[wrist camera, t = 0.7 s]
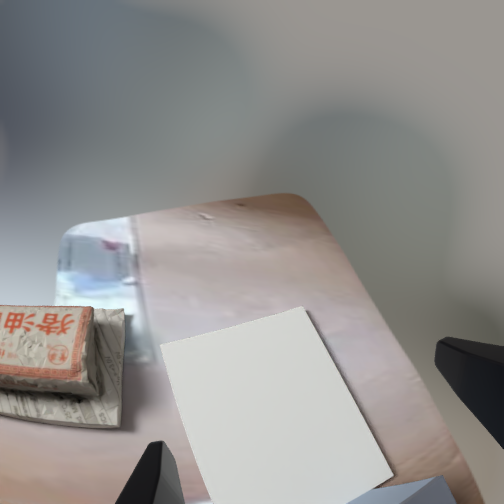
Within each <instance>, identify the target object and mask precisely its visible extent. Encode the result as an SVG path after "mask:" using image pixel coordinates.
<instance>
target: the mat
mask: <svg viewBox="0 0 504 504" xmlns="http://www.w3.org/2000/svg"><path fill="white" fill-rule="evenodd" d="M160 348H161V352H162V355H163V359H164V363H165V366H166V370H167V373H168V377H169V380H170V384H171V387H172V390H173V394H174V397H175V400H176V403H177V407H178V410H179V413H180V416H181V419H182V422H183V425H184V428H185V431H186V434H187V437H188V440H189V443H190V445H191V448H192V451H193V454H194V457H195V459H196V462H197V465H198V467H199V470H200V472H201V475H202V478H203V480H204V483H205V485H206V488H207V490H208V493H209V495H210V497H211V500H212V502H213V504H346V503H348V502H350V501H352V500H354V499H355V498H357V497H359V496H361V495H362V494H364V493H366V492H368V491H369V490H371V489H373V488H374V487H376V486H378V485H379V484H381V483H383V482H384V481H386V480H387V479H389V478H391V477H392V476H394V475H393V473H392V471H391V469H390V467H389V466H388V464H387V462H386V460H385V458H384V456H383V454H382V452H381V450H380V448H379V446H378V445H377V443H376V441H375V439H374V437H373V435H372V433H371V431H370V429H369V427H368V426H367V424H366V422H365V420H364V418H363V416H362V414H361V412H360V411H359V409H358V407H357V405H356V403H355V401H354V399H353V397H352V396H351V394H350V392H349V390H348V388H347V386H346V384H345V383H344V381H343V379H342V377H341V375H340V373H339V372H338V370H337V368H336V366H335V364H334V362H333V360H332V359H331V357H330V355H329V353H328V351H327V349H326V348H325V346H324V344H323V342H322V340H321V339H320V337H319V335H318V333H317V331H316V329H315V328H314V326H313V324H312V322H311V320H310V319H309V317H308V315H307V313H306V311H305V309H304V308H303V306H301V307H298V308H294V309H291V310H288V311H284V312H281V313H278V314H274V315H271V316H267V317H264V318H260V319H257V320H253V321H250V322H246V323H243V324H239V325H235V326H232V327H228V328H224V329H220V330H217V331H213V332H209V333H205V334H201V335H197V336H193V337H189V338H185V339H181V340H177V341H173V342H169V343H165V344H160Z"/></svg>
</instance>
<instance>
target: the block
mask: <svg viewBox="0 0 504 504" xmlns="http://www.w3.org/2000/svg"><path fill="white" fill-rule="evenodd" d="M346 504H457V503H456V501H455V499H454V497H453V495H452V493H451V491H450V489H449V487H448V485H447V483H446V481H445V479H444V477H443V475H441V476H437V477H433V478H429V479H425V480H420V481H416V482H411V483H406V484H401V485H395V486H390V487H384V488H377V489H371V490H369V491H368V492H366V493H364V494H362V495H361V496H359V497H357V498H355V499H354V500H352V501H350V502H348V503H346Z"/></svg>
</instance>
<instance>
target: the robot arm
mask: <svg viewBox="0 0 504 504" xmlns="http://www.w3.org/2000/svg"><path fill="white" fill-rule="evenodd" d="M434 361H435V365H436V367H437V369H438V370H439V371H440V373H441V374H442V375H443V377H444V378H445V379H446V381H447V382H448V383H449V385H450V386H451V388H452V389H453V391H454V392H455V393H456V395H457V396H458V397H459V398H460V400H461V401H462V402H463V403H464V404H465V405H466V406H467V408H468V409H469V410H470V411H471V412H472V413H473V414H474V415H475V417H476V418H477V419H478V420H479V421H480V422H481V423H482V425H483V426H484V427H485V428H486V429H487V430H488V432H489V433H490V434H491V435H492V436H493V437H494V438H495V440H496V441H497V442H498V443H499V444H500V446H501V447H502V448H503V449H504V346H499V345H493V344H486V343H480V342H475V341H469V340H464V339H458V338H453V337H445V338H443V339H441V340H439V341H438V342H437V344H436V351H435V360H434ZM115 504H185V502H184V497H183V493H182V488H181V484H180V479H179V475H178V470H177V465H176V461H175V458H174V456H173V455H172V453H171V452H170V450H169V448H168V447H167V445H166V443H165V442H164V441H156V442H151V443H149V445H148V446H147V448H146V450H145V452H144V453H143V455H142V457H141V459H140V460H139V462H138V464H137V466H136V467H135V469H134V471H133V473H132V474H131V476H130V478H129V480H128V481H127V483H126V485H125V487H124V488H123V490H122V492H121V494H120V496H119V497H118V499H117V501H116V503H115Z"/></svg>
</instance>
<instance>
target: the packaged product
mask: <svg viewBox="0 0 504 504" xmlns="http://www.w3.org/2000/svg"><path fill="white" fill-rule="evenodd" d="M124 345H125V313H124V308H122V309H107V310H106V309H94V308H93V307H91V306H87V307H83V306H11V305H0V414H1V415H5V416H9V417H14V418H18V419H23V420H28V421H34V422H40V423H48V424H55V425H64V426H74V427H87V428H118V427H120V425H121V410H122V370H123V357H124Z"/></svg>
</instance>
